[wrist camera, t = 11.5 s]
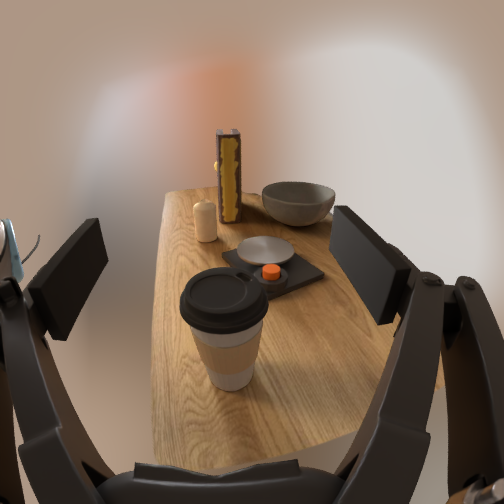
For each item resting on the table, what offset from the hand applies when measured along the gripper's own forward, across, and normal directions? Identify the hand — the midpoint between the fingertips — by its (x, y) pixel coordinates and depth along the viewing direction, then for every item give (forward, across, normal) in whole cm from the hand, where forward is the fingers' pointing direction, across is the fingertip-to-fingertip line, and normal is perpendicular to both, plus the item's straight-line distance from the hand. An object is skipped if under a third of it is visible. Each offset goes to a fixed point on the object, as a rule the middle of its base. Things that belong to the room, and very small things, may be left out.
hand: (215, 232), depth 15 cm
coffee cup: (+10, 0, -26) cm, 28 cm away
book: (+71, +2, -26) cm, 76 cm away
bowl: (+59, +21, -26) cm, 68 cm away
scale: (+36, +10, -26) cm, 46 cm away
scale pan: (+38, +9, -23) cm, 45 cm away
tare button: (+29, +9, -23) cm, 38 cm away
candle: (+52, -4, -26) cm, 58 cm away
